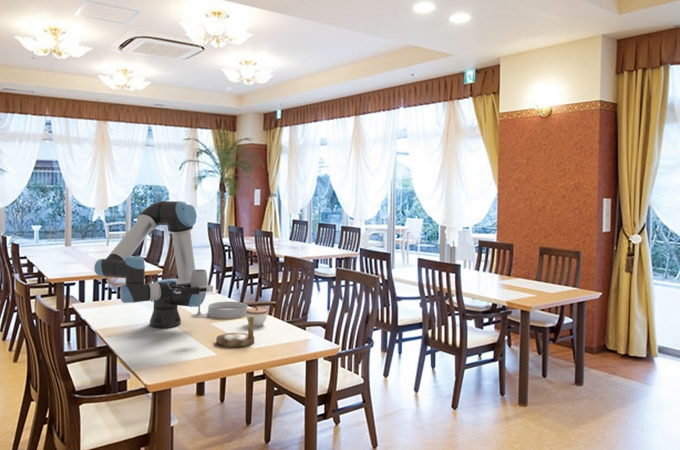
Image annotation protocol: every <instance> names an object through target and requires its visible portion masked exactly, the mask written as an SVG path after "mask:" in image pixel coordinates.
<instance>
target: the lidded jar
mask: <svg viewBox="0 0 680 450" xmlns="http://www.w3.org/2000/svg"><path fill="white" fill-rule="evenodd" d="M248 316H254V327H261V326H263V324H265V322H266V320H267V318H268V317H267V316H268V310H267V308H263V307H259V306H255V307H251V308H247V310H246V320H247V321H248Z"/></svg>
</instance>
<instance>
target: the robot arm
mask: <svg viewBox="0 0 680 450" xmlns="http://www.w3.org/2000/svg"><path fill="white" fill-rule="evenodd" d="M197 216H198V215H197V210H196V208H195V206H194V205H193V204H192V203H190V202H187V201H181V200H180V201H175V200H174V201H171V200H170V201H167V200H166V201H165V200H160V201H157V202H156V201H155V202H154V203H152V204H150V205H149V206H147V207H146V208H144V209H143V210H142V212H141V213H139V215H138V216H137V218H136V222H135V223H134V224H133V225H132V227H131V228H130V229H129V230H128V232H126V234H125V235H124V236H123V237H122V239H120V241H119V243H117V245H116V246H115V247H114V249H113V250H112V251H111V252H110V253H109V254H108V256H107V257H106V258H99V259H98V260H96V261H95V263H94V269H93V270H94V272H95V275H97V276H99V277H103V278H119V279H125V284H123V285H121V286H120V288H119V289H120V290H119V298H120V301H121V303H123V304H125V303H126V304H128V303H130V304H131V303H141V302H142V303H144V302H151V303H152V302H153V311H152V313H151V315H150V316H151V317H150V319H149V326H150V327H153V328H158V329H166V328H167V329H168V328H173V327H178V326H180V325H181V324H182V318H181V316H180V313H179V310H178V309H179V308H178V306H180V307H181V306H182V307H190V308H193V307H195V308H196V307H197V308H198V296H197V295H196V294H198V295H199V293H203V292H204V293H203V294H202V295H201V297H200V306H201V305H202V304H203V302H204V301H205V298H206V295H207V293H210V292H212V293H213V292H214V285H208V286H200V287H191V276H192V271H193V270H196V265H195V258H194V257H195V256H194V251H193V243H192V242H193V241H192V234H191V231H192V230H193V228H194V227H193V226H194V225H195V224H196V222H197ZM158 226H159V227H160V226H167V232H169V233H170V234H171V236H172V237H171V239H172V245H173V251H174V257H175V265H176V272H177V278H164V279H160V280H156V281H155V282H151V283H149V282H148V283H146V281H145V276H146V275H145V273H146V272H145V271H146V270H145V268H146V265H145V258H144V257H143V256H140V255H133V254H134V253H135V251H136V250H137V249H138V247H140V245H141V244H142V242H143V241H144V240H145V239H146V237H147V236H148V235H149V234H150V233H151V231H155V229H156V228H157V227H158Z"/></svg>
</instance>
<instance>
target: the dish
mask: <svg viewBox="0 0 680 450" xmlns="http://www.w3.org/2000/svg"><path fill="white" fill-rule="evenodd" d="M207 308H208V309H207V316H209V317H211V318H215V317H216V319H236V318H242V317H245V316H246V317H247V315H246V310H247V309H249V306H248V304H247V303H245V302H241V301H217V302H213V303H210V304H209V305H208V307H207Z"/></svg>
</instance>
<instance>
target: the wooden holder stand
mask: <svg viewBox="0 0 680 450" xmlns="http://www.w3.org/2000/svg"><path fill="white" fill-rule="evenodd" d="M247 322H248V323H247V324H248V326H247V327H248V328H247V332H228V333H223V334H219V335H218V336H216V342H215V343H216V345H217V346H221V347H226V348H241V347H247V346H250V345H252V344H254V343H255V336H254V328H255V326H254V316H248V320H247Z"/></svg>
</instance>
